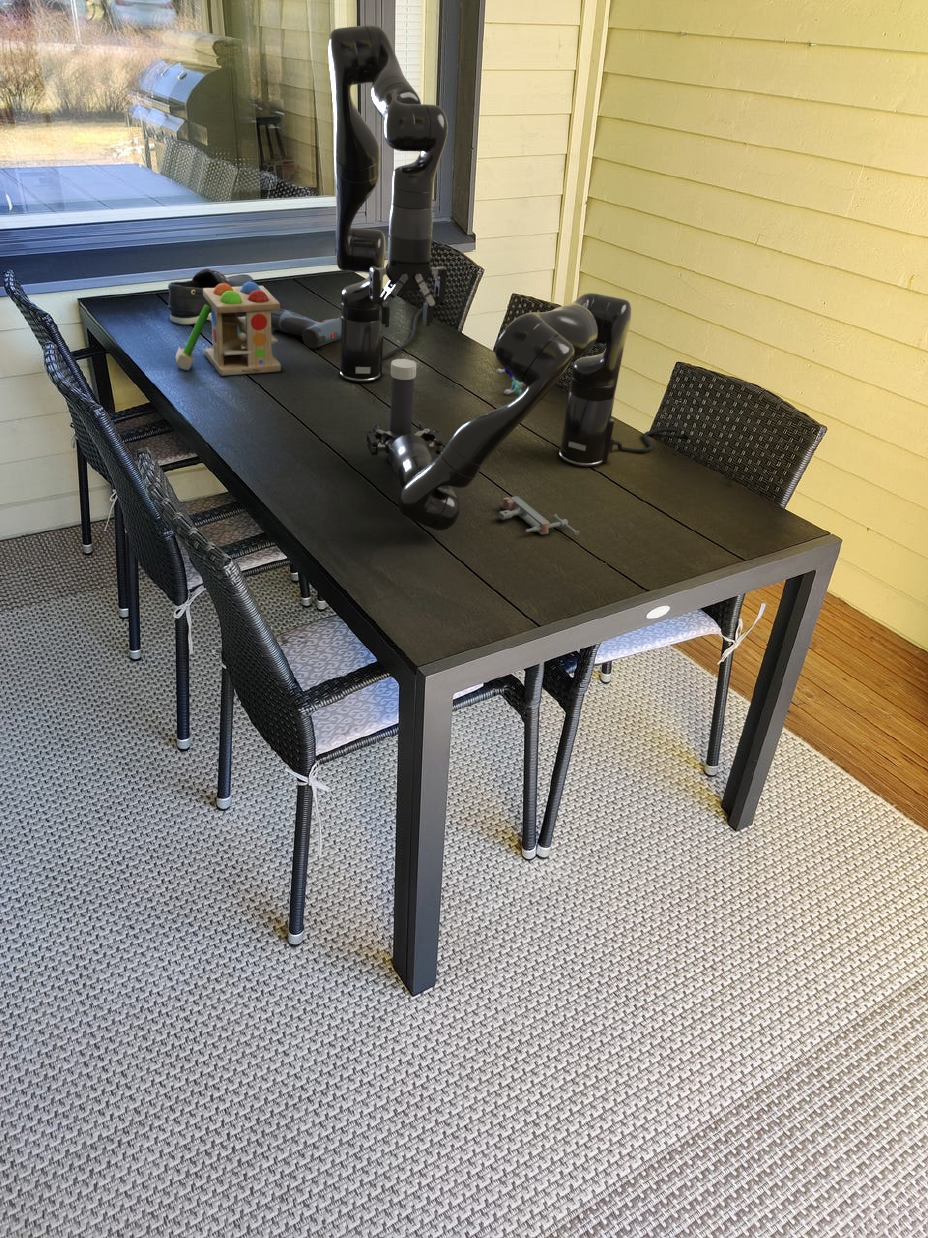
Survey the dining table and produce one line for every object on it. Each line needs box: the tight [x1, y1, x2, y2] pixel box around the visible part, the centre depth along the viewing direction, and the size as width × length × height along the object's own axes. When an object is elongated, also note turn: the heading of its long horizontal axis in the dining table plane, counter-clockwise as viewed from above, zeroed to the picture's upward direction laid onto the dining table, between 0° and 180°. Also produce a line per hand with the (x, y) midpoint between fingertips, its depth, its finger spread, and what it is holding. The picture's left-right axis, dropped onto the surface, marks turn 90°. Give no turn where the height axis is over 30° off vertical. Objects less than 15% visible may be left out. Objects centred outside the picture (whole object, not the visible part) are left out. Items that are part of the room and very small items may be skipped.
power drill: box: [271, 308, 341, 349], centre depth 252 cm, size 5×19×20 cm
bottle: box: [388, 376, 415, 465], centre depth 190 cm, size 4×4×20 cm
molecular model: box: [496, 368, 526, 397], centre depth 227 cm, size 12×10×10 cm
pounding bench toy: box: [174, 282, 282, 377], centre depth 225 cm, size 23×14×18 cm, turn 116°
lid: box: [390, 358, 417, 380], centre depth 185 cm, size 5×5×2 cm
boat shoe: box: [167, 268, 256, 325], centre depth 261 cm, size 13×33×10 cm, turn 147°
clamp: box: [498, 496, 580, 537], centre depth 177 cm, size 15×2×10 cm
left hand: (405, 325), depth 180 cm, fingers open, 7 cm apart
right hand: (399, 426), depth 193 cm, fingers open, 8 cm apart
